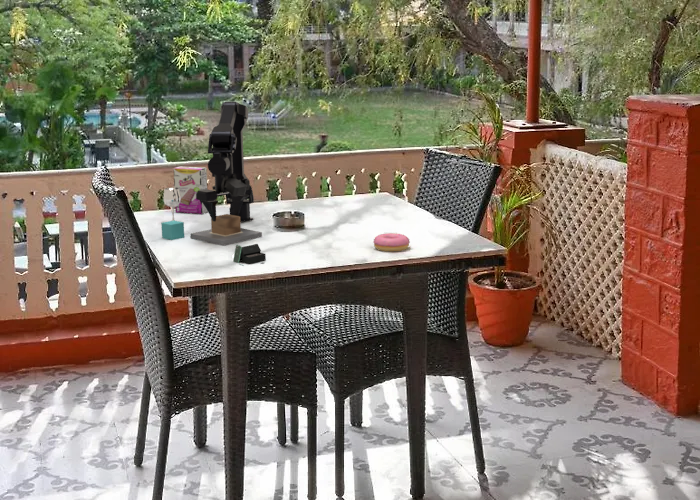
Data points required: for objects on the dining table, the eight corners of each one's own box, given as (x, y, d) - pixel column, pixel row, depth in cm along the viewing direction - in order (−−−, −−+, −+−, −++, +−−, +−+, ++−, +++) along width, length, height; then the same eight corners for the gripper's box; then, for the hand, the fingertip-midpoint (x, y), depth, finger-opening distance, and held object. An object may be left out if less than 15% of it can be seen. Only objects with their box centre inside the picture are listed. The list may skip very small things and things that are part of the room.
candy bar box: (174, 213, 344) (172, 167, 340) (181, 210, 348) (179, 166, 344) (202, 214, 340) (200, 169, 336) (209, 212, 345) (207, 167, 341)
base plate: (229, 229, 315) (228, 224, 314) (261, 236, 304) (261, 231, 304) (190, 238, 303) (190, 232, 303) (223, 245, 293) (223, 240, 292)
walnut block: (227, 229, 308) (226, 214, 307) (240, 231, 303) (240, 216, 302) (211, 232, 303) (211, 217, 302) (225, 235, 299) (224, 219, 298)
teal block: (174, 235, 308) (173, 220, 307) (184, 237, 304) (183, 222, 303) (162, 238, 304) (161, 222, 303) (171, 240, 301) (171, 224, 300)
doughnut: (398, 243, 294) (398, 230, 293) (416, 250, 285) (416, 236, 284) (367, 247, 290) (366, 233, 289) (384, 254, 280) (384, 240, 279)
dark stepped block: (256, 253, 284) (256, 235, 283) (288, 262, 273) (288, 243, 272) (215, 262, 274) (214, 244, 273) (246, 272, 264) (246, 252, 262)
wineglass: (174, 225, 322) (172, 190, 319) (161, 223, 325) (159, 189, 322) (185, 222, 327) (183, 188, 324) (173, 220, 330) (171, 186, 327)
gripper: (217, 176, 286) (219, 227, 290) (263, 169, 300) (264, 217, 304) (193, 172, 294) (196, 222, 297) (239, 165, 307) (241, 213, 311)
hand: (225, 219), depth 302 cm, fingers open, 9 cm apart
